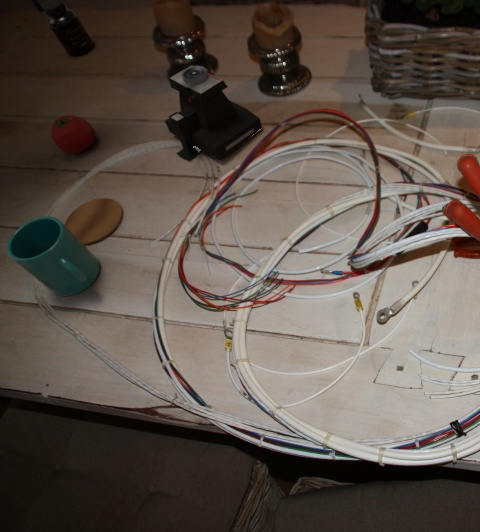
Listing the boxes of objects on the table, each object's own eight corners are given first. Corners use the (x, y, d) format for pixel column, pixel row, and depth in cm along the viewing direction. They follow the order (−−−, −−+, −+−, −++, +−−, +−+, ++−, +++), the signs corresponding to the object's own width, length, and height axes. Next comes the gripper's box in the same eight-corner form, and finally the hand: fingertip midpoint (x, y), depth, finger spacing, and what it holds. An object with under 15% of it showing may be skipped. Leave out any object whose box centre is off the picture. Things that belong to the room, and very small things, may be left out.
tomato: (67, 163, 114) (46, 137, 108) (60, 142, 118) (38, 116, 112) (104, 147, 116) (85, 120, 110) (95, 127, 120) (76, 100, 114)
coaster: (55, 244, 101) (53, 242, 101) (80, 199, 107) (78, 197, 107) (110, 245, 100) (108, 243, 99) (131, 200, 106) (130, 198, 105)
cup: (79, 314, 92) (36, 278, 83) (40, 282, 97) (-5, 245, 87) (121, 276, 95) (84, 238, 86) (82, 247, 100) (43, 208, 91)
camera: (246, 71, 103) (183, 111, 96) (263, 133, 115) (209, 172, 107) (192, 47, 110) (130, 82, 103) (214, 108, 121) (159, 143, 114)
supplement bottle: (62, 52, 138) (31, 7, 128) (83, 37, 141) (55, -7, 131) (78, 59, 135) (47, 14, 125) (99, 45, 138) (71, -1, 128)
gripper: (-179, -63, 75) (-57, 69, 92) (-6, -132, 83) (75, 1, 101) (-191, -77, 78) (-71, 53, 96) (-24, -141, 87) (58, -11, 104)
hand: (4, 27), depth 98 cm, fingers open, 13 cm apart
